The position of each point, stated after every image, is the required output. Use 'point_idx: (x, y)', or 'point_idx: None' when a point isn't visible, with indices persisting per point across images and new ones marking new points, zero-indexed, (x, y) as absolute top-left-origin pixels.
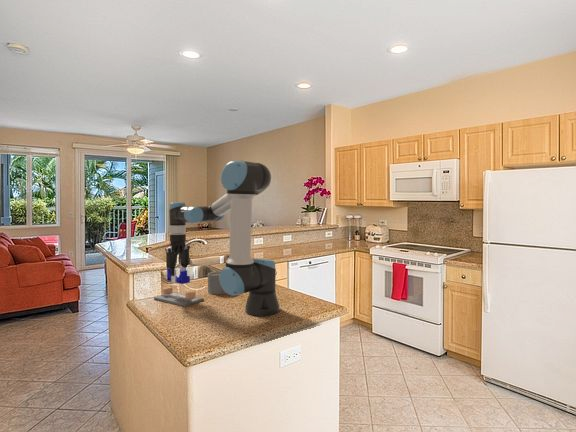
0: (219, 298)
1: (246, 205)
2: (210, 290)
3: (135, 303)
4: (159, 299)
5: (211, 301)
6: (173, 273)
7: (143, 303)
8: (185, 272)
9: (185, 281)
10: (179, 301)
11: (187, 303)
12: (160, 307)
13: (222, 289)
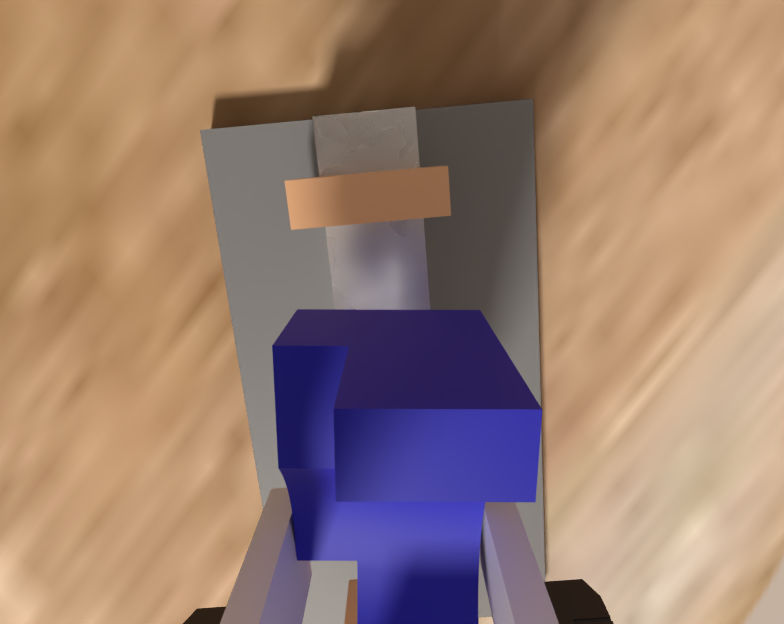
0: (11, 34)
1: None
2: None
3: (722, 616)
4: (541, 525)
5: (170, 8)
6: (575, 622)
7: (682, 561)
8: (399, 390)
9: (398, 320)
10: (494, 253)
11: (486, 104)
12: (691, 310)
13: None
